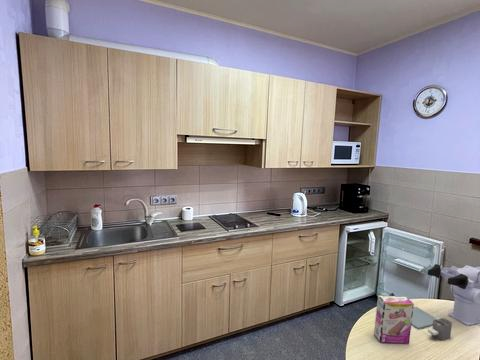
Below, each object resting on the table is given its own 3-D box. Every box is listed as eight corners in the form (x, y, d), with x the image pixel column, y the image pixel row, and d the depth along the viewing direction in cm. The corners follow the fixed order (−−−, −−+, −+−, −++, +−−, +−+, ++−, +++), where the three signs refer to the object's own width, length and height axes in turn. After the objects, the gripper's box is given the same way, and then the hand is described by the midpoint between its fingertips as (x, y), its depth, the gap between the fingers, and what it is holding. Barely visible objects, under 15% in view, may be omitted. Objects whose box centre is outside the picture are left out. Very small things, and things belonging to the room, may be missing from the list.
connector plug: (442, 331, 102) (444, 317, 101) (452, 337, 98) (454, 323, 98) (425, 336, 98) (426, 322, 98) (434, 342, 95) (436, 328, 95)
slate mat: (416, 308, 117) (416, 306, 117) (441, 323, 107) (441, 321, 107) (393, 313, 113) (393, 311, 113) (417, 329, 102) (418, 327, 102)
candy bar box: (380, 344, 94) (384, 302, 92) (373, 334, 99) (376, 294, 97) (410, 345, 94) (414, 303, 92) (401, 335, 99) (405, 295, 97)
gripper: (443, 259, 113) (422, 260, 109) (482, 274, 100) (460, 275, 95) (440, 274, 114) (419, 275, 109) (479, 291, 100) (457, 293, 96)
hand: (438, 276), depth 102 cm, fingers open, 7 cm apart
